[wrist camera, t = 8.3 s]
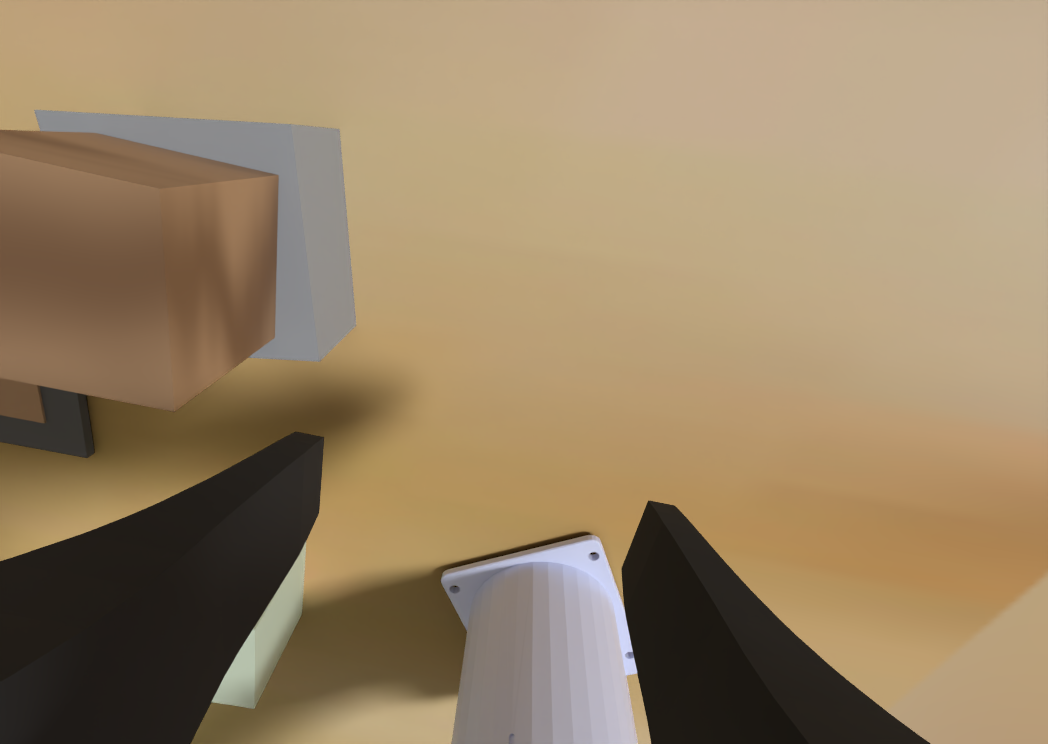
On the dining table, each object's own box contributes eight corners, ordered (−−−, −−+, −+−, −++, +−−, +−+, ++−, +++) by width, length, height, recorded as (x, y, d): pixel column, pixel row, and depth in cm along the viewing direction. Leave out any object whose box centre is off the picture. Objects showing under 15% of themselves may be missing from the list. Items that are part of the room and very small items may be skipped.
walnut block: (274, 337, 16) (174, 411, 12) (114, 304, 16) (-54, 367, 11) (278, 174, 14) (159, 188, 10) (95, 133, 14) (-117, 126, 9)
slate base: (358, 323, 20) (319, 361, 17) (183, 313, 20) (105, 349, 17) (342, 129, 18) (291, 124, 14) (138, 117, 18) (34, 109, 14)
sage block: (302, 612, 27) (254, 708, 22) (205, 595, 26) (136, 690, 22) (306, 540, 25) (255, 629, 20) (201, 521, 24) (124, 607, 20)
